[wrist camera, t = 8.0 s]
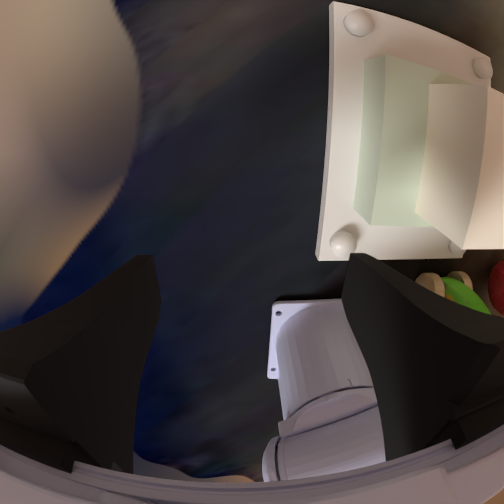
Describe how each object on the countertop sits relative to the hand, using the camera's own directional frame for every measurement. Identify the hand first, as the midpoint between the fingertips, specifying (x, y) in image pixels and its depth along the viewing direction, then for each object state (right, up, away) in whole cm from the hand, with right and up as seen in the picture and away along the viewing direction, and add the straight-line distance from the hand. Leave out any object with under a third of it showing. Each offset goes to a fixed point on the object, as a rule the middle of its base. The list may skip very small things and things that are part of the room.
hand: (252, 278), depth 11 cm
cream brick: (+12, +7, +4) cm, 14 cm away
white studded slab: (+12, +9, +7) cm, 16 cm away
